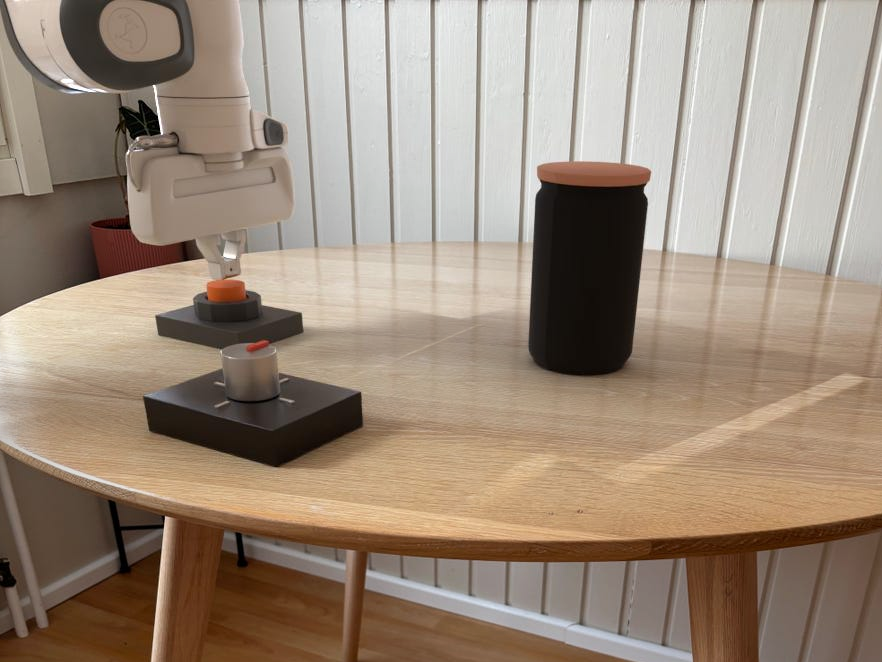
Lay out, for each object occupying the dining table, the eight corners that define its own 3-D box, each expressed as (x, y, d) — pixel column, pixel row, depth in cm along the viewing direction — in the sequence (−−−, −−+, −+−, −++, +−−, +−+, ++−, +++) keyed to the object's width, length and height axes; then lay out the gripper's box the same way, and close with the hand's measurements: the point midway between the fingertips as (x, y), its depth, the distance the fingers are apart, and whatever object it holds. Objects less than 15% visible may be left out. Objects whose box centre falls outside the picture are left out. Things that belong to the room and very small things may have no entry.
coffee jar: (651, 363, 97) (674, 169, 87) (584, 384, 91) (601, 178, 81) (573, 341, 103) (586, 158, 94) (505, 359, 97) (512, 166, 87)
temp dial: (255, 405, 75) (249, 357, 73) (214, 395, 77) (208, 348, 75) (291, 390, 78) (287, 344, 76) (251, 381, 80) (246, 336, 78)
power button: (200, 301, 100) (198, 284, 99) (227, 294, 103) (224, 277, 102) (228, 306, 99) (225, 289, 98) (254, 299, 101) (252, 282, 101)
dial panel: (148, 431, 78) (141, 393, 76) (241, 395, 86) (236, 361, 84) (276, 467, 72) (272, 428, 70) (363, 425, 80) (361, 389, 78)
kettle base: (158, 335, 102) (151, 297, 100) (223, 316, 109) (219, 280, 107) (240, 354, 97) (235, 314, 95) (303, 332, 104) (300, 295, 102)
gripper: (147, 139, 83) (173, 301, 91) (299, 125, 98) (310, 264, 105) (99, 135, 86) (128, 292, 93) (254, 121, 101) (268, 258, 108)
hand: (226, 277), depth 100 cm, fingers closed
